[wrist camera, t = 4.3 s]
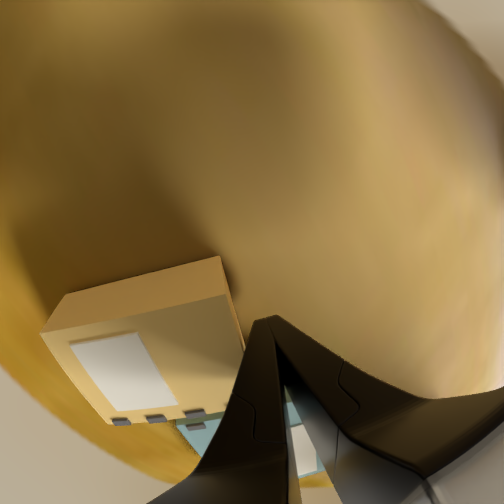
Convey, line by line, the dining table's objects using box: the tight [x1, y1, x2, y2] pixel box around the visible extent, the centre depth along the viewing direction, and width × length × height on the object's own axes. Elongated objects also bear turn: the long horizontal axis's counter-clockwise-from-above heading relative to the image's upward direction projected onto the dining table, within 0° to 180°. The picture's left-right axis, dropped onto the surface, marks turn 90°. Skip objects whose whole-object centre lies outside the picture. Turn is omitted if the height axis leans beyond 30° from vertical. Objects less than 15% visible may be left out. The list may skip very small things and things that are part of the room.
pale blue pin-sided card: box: [176, 386, 325, 478], centre depth 12 cm, size 6×9×2 cm, turn 11°
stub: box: [39, 255, 246, 426], centre depth 9 cm, size 6×5×2 cm
